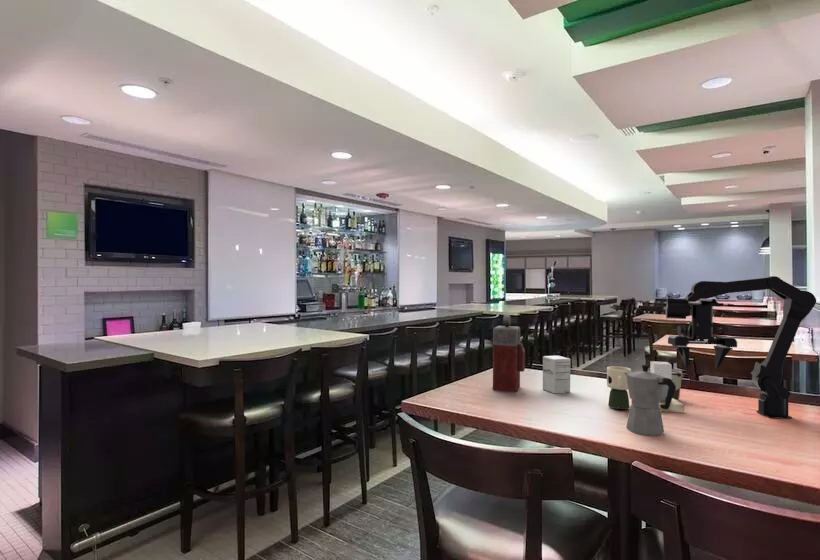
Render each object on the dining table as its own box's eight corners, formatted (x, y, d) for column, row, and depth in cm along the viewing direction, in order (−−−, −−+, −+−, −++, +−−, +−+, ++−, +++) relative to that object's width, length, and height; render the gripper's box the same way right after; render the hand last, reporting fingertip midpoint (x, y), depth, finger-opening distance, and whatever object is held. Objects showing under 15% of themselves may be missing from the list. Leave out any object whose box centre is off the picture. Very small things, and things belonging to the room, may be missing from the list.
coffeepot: (612, 425, 129) (613, 361, 129) (636, 421, 133) (637, 359, 133) (662, 443, 115) (662, 371, 115) (687, 438, 119) (687, 369, 119)
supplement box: (541, 389, 173) (542, 355, 173) (558, 388, 175) (558, 355, 175) (553, 393, 166) (553, 359, 166) (570, 392, 168) (571, 358, 168)
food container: (675, 396, 164) (675, 368, 164) (683, 400, 158) (683, 371, 158) (639, 394, 166) (639, 367, 166) (646, 399, 159) (646, 370, 160)
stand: (669, 404, 153) (669, 396, 153) (684, 412, 143) (684, 404, 143) (638, 403, 154) (638, 395, 154) (650, 411, 144) (650, 403, 144)
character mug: (606, 403, 153) (606, 364, 154) (629, 405, 151) (629, 366, 151) (607, 411, 143) (607, 370, 143) (632, 414, 141) (633, 372, 141)
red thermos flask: (523, 392, 167) (523, 316, 167) (492, 390, 171) (493, 315, 171) (526, 387, 175) (526, 314, 176) (496, 385, 179) (497, 313, 180)
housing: (666, 398, 150) (667, 362, 150) (671, 402, 146) (671, 364, 146) (650, 397, 152) (650, 361, 152) (654, 401, 147) (654, 363, 147)
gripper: (718, 318, 155) (718, 364, 155) (660, 317, 157) (660, 362, 157) (738, 321, 144) (738, 370, 144) (676, 319, 146) (675, 368, 146)
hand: (701, 367), depth 148 cm, fingers open, 9 cm apart
